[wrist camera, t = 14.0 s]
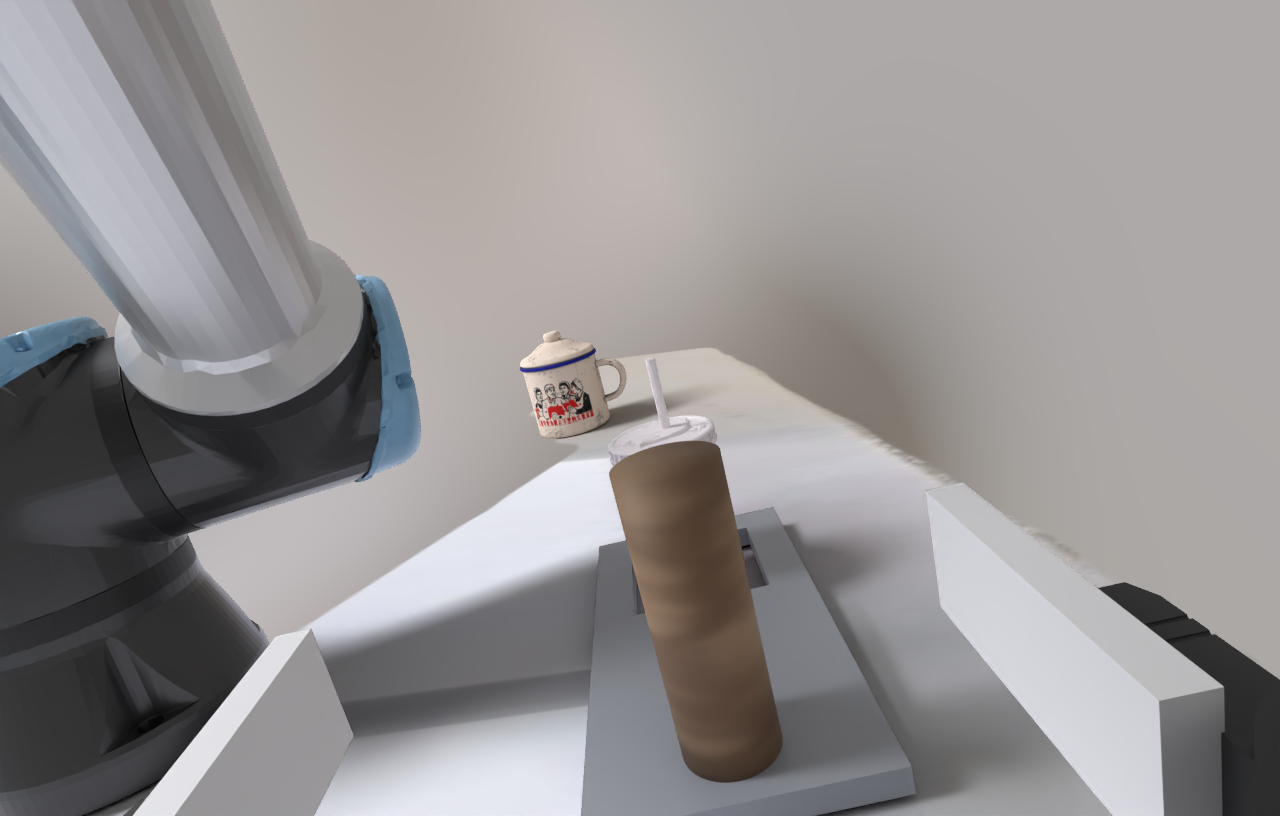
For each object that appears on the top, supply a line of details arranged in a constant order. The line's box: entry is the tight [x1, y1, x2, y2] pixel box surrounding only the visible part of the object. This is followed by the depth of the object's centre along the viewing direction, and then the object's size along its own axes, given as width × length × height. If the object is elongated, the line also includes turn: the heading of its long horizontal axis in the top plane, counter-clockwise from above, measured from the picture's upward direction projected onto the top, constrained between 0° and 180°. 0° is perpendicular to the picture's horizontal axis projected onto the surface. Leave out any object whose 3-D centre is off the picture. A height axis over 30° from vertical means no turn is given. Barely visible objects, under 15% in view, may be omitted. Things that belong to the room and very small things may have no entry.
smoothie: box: [608, 358, 717, 465], centre depth 43 cm, size 6×6×14 cm
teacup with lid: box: [520, 331, 626, 438], centre depth 85 cm, size 12×9×12 cm
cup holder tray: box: [581, 441, 916, 816], centre depth 36 cm, size 12×24×13 cm, turn 2°
